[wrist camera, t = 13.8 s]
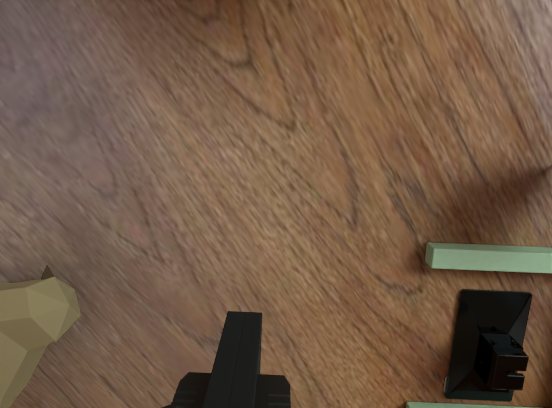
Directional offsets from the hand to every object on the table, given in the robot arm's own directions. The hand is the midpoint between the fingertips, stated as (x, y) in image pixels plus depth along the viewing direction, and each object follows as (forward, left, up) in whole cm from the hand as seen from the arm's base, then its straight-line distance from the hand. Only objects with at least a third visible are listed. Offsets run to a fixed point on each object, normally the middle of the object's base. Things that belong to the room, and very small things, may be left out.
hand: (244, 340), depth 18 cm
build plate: (+13, +24, -23) cm, 35 cm away
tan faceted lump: (+11, -23, -23) cm, 34 cm away
